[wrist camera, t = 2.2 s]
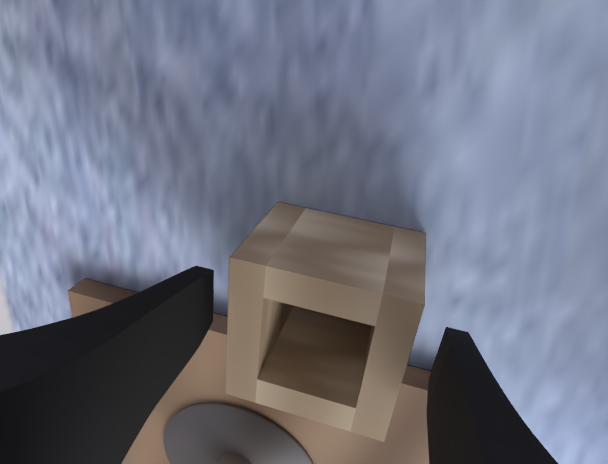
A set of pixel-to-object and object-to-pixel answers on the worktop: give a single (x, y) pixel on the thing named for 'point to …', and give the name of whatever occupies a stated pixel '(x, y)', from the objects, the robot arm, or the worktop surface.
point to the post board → (255, 414)
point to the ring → (324, 316)
